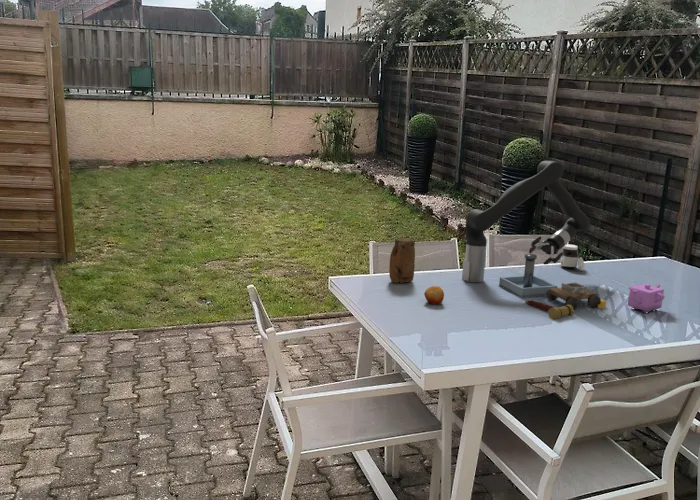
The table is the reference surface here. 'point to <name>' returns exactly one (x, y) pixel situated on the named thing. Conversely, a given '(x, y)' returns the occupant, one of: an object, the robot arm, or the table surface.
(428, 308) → the table surface
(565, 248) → the spread jar
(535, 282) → the tray
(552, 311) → the gavel
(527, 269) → the pin
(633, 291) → the teapot
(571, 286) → the wheeled pole base
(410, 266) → the block
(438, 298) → the fruit
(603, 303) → the wheel chock
